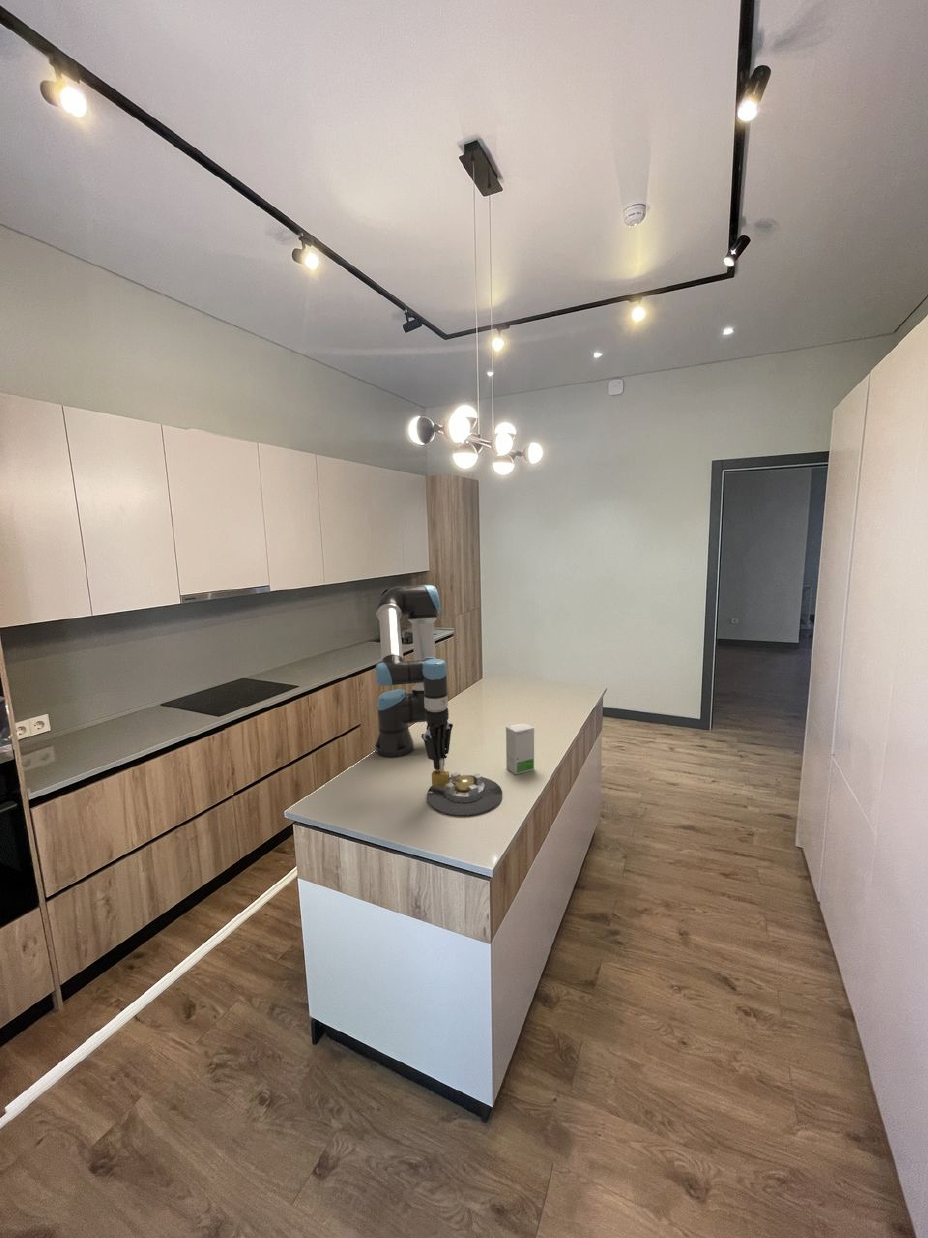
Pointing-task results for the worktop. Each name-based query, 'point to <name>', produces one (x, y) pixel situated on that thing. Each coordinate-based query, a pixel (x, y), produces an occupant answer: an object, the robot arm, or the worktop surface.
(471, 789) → the ring nut
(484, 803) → the bowl
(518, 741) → the skincare box
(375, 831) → the worktop surface
